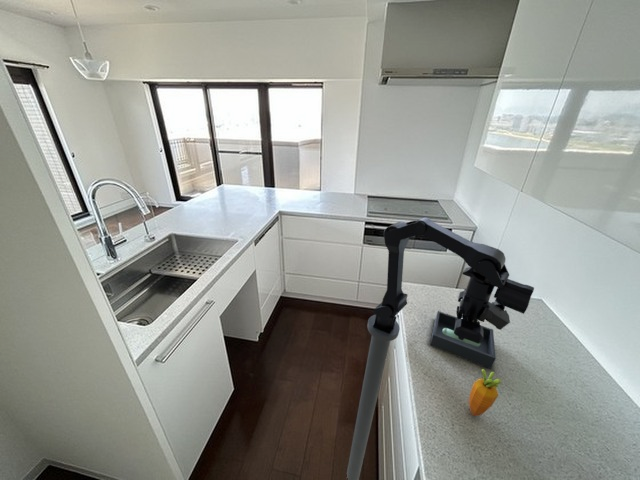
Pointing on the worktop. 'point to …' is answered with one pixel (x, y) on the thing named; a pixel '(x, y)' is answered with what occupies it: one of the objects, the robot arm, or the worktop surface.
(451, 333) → the pale green rod
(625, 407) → the worktop surface
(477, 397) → the carrot
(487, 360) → the bin
